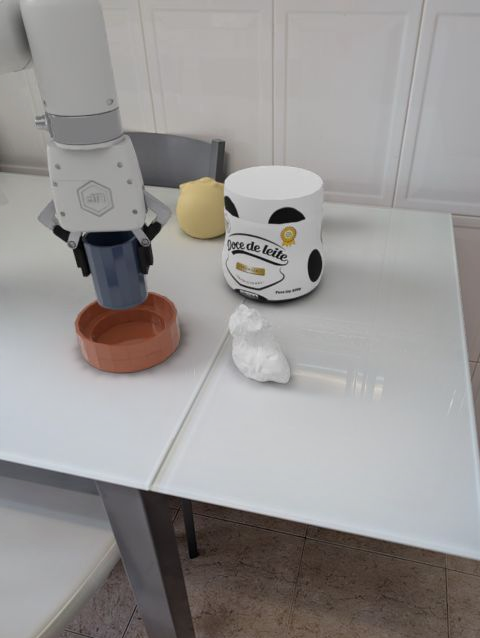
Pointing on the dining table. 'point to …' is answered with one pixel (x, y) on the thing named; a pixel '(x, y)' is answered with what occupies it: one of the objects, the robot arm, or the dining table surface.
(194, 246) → the dining table surface
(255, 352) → the bust
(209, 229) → the sculpture
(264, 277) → the white doce de leite
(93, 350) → the bowl
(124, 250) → the cup
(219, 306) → the dining table surface
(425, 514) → the dining table surface
